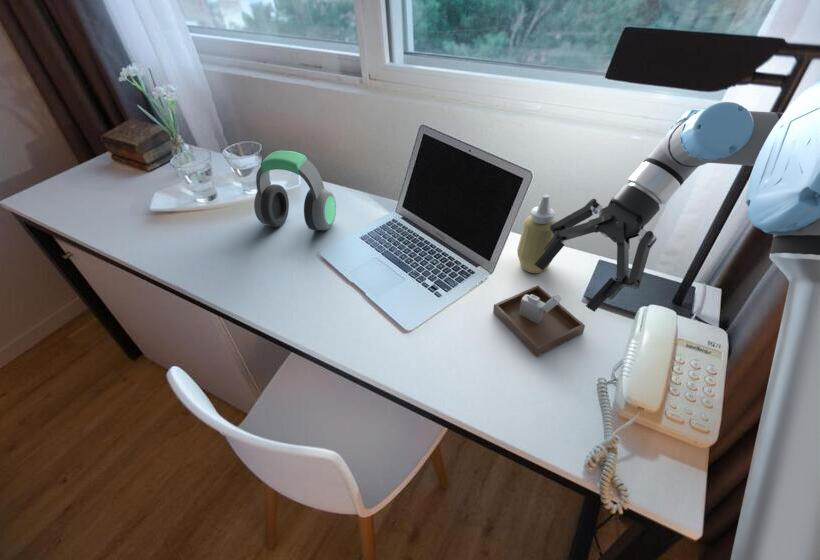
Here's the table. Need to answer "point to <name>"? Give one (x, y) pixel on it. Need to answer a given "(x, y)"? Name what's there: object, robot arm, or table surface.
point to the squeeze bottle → (536, 235)
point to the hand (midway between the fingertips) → (562, 287)
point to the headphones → (274, 197)
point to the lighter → (537, 306)
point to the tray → (548, 331)
